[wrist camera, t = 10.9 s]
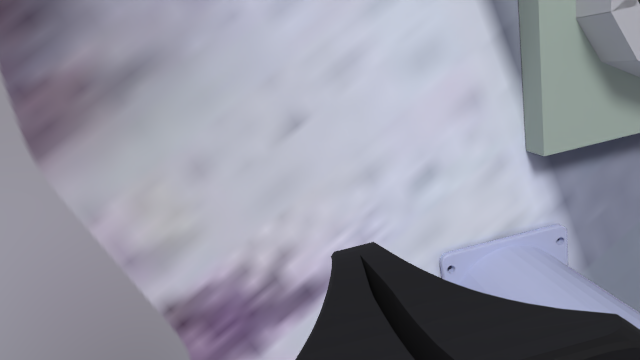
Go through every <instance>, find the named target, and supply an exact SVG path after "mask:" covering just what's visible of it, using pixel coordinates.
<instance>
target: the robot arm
mask: <svg viewBox="0 0 640 360" xmlns="http://www.w3.org/2000/svg"><path fill="white" fill-rule="evenodd" d="M558 238H559V240H558V241H557V239H558ZM556 241H557V242H556ZM331 258H332V270H331V277H330V281H329V286H328V290H327V294H326V297H325V300H324V303H323V306H322V309H321V312H320V314H319V317H318V319H317V321H316V324H315V326H314V328H313V330H312V332H311V334H310V336H309V338H308V339H307V341H306V343H305V345H304V347H303V348H302V350H301V352H300V353H299V355H298V356H297V358H296V360H640V313H639V312H638V311H636V310H635V309H633V308H631V307H630V306H628V305H627V304H625V303H624V302H622V301H621V300H619V299H618V298H616V297H615V296H613V295H612V294H610V293H608V292H607V291H605V290H604V289H602V288H601V287H599V286H598V285H596V284H595V283H593V282H592V281H590V280H589V279H587V278H586V277H584V276H582V275H581V274H579V273H578V272H576V271H575V270H573V269H572V268H570V267H569V266H568V244H567V229H566V228H565V227H564V226H562V225H560V224H555V225H551V226H547V227H543V228H540V229H536V230H532V231H528V232H524V233H520V234H516V235H512V236H508V237H505V238H501V239H497V240H493V241H489V242H485V243H481V244H477V245H473V246H470V247H466V248H462V249H458V250H454V251H450V252H446V253H444V254H443V255H442V256H441V258H440V268H441V275H442V278H439V277H437V276H435V275H433V274H430V273H428V272H426V271H424V270H422V269H420V268H418V267H416V266H414V265H412V264H410V263H408V262H406V261H405V260H403V259H401V258H399V257H398V256H396V255H394V254H392V253H391V252H389V251H387V250H386V249H384V248H383V247H381V246H379V245H378V244H376V243H374V242H372V243H368V244H364V245H360V246H356V247H352V248H348V249H344V250H340V251H336V252H334V253H333V254H332V256H331ZM449 266H452V268H451V269H450V270H447V268H448V267H449Z"/></svg>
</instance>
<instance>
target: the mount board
mask: <svg viewBox="0 0 640 360" xmlns="http://www.w3.org/2000/svg"><path fill="white" fill-rule="evenodd" d="M518 1H519V21H520V41H521V60H522V80H523V100H524V119H525V139H526V151H528V152H531V153H535V154H538V155H541V156H548V155H552V154H556V153H560V152H564V151H568V150H572V149H576V148H580V147H584V146H588V145H592V144H596V143H601V142H605V141H609V140H613V139H617V138H621V137H625V136H629V135H633V134H637V133H640V4H639V2H638V0H518Z"/></svg>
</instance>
